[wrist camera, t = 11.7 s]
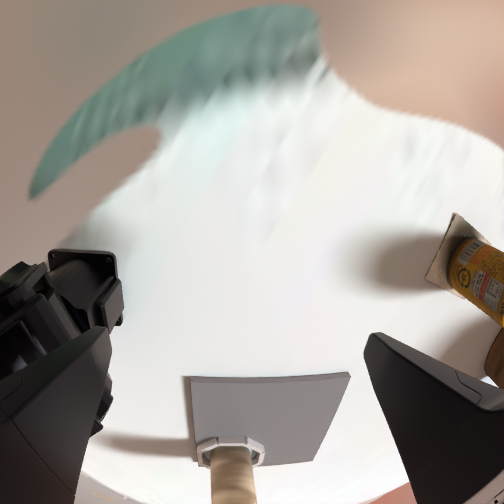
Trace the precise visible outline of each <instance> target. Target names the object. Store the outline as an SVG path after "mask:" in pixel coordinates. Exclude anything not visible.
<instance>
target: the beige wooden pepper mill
mask: <svg viewBox="0 0 504 504" xmlns="http://www.w3.org/2000/svg"><path fill="white" fill-rule="evenodd" d="M210 469H211V500H212V504H257V498H256V491H255V484H254V477H253V469H252V462H251V454H250V450H249V449H248V448H247V447H245V446H218V447H216V448H213V449H212V450H211V451H210Z"/></svg>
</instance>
